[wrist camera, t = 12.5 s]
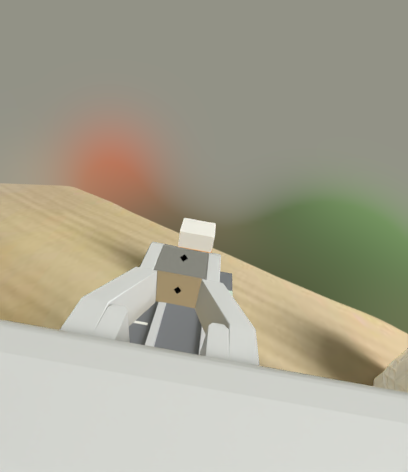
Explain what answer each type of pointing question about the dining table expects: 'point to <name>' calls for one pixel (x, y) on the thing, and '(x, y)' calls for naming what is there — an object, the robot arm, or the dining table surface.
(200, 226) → the fader
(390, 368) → the white cup
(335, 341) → the dining table surface
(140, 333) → the grey slider track base
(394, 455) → the robot arm
